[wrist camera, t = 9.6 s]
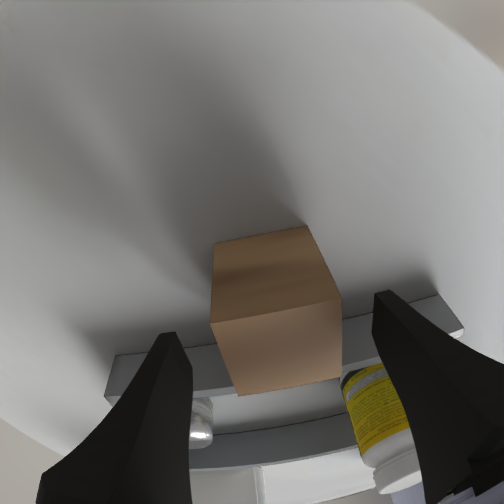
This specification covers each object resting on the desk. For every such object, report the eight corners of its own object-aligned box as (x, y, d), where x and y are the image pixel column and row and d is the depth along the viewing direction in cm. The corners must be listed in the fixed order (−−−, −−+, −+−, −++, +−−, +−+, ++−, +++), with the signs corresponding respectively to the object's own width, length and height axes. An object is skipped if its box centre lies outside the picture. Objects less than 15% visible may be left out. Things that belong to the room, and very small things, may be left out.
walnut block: (314, 297, 16) (341, 376, 11) (234, 312, 16) (238, 396, 11) (306, 224, 14) (342, 298, 9) (214, 243, 14) (209, 323, 9)
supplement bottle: (323, 384, 19) (353, 500, 12) (372, 337, 17) (424, 462, 10) (371, 394, 21) (404, 492, 14) (416, 354, 19) (466, 456, 12)
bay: (409, 397, 22) (421, 426, 19) (179, 440, 23) (177, 471, 20) (439, 294, 16) (464, 328, 14) (115, 355, 17) (103, 396, 14)
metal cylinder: (218, 413, 21) (219, 447, 18) (171, 417, 21) (168, 450, 18) (203, 386, 19) (202, 423, 16) (151, 391, 19) (146, 426, 16)
